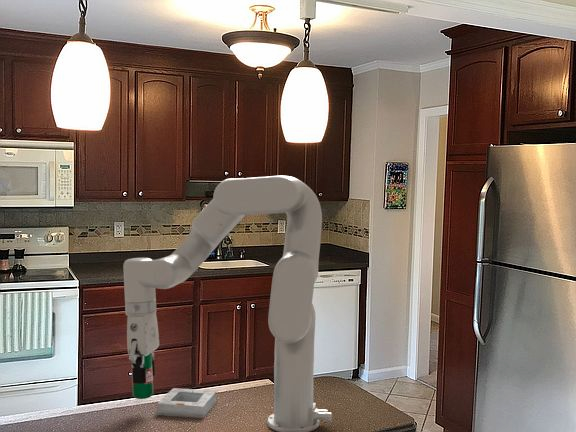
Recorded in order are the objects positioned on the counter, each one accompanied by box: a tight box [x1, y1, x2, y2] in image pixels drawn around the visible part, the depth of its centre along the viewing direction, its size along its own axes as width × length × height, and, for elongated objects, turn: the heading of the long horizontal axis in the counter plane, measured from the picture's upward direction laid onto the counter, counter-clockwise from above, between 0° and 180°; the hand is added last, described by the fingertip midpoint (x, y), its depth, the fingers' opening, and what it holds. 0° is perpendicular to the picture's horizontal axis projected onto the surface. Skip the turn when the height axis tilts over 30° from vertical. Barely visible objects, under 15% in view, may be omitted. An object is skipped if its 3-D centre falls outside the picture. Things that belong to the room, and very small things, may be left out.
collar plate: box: [156, 387, 217, 419], centre depth 162 cm, size 12×12×3 cm
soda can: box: [130, 352, 154, 400], centre depth 157 cm, size 5×5×12 cm
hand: (144, 378), depth 157 cm, fingers closed on soda can, 5 cm apart
